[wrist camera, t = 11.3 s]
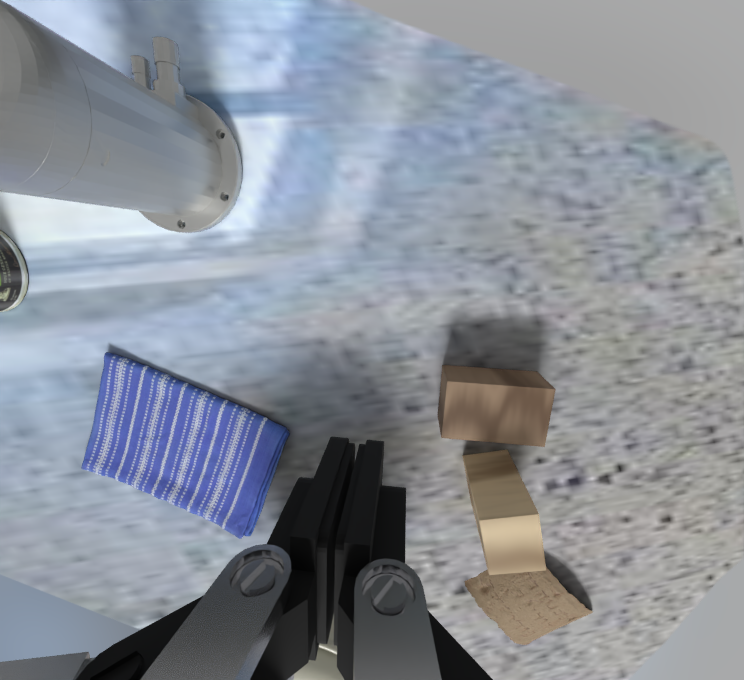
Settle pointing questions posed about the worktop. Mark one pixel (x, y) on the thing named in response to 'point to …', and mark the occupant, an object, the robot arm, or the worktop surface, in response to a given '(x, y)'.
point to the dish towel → (183, 444)
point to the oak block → (504, 514)
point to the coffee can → (11, 274)
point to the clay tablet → (525, 603)
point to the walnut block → (494, 405)
